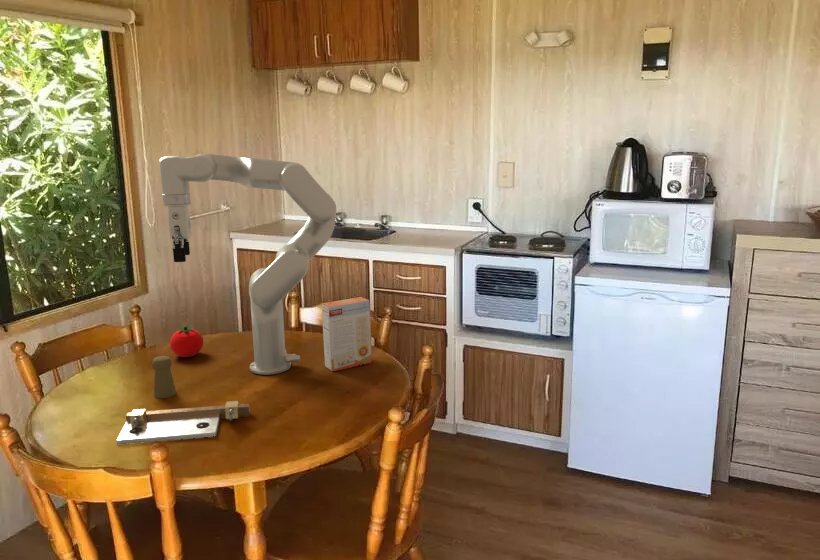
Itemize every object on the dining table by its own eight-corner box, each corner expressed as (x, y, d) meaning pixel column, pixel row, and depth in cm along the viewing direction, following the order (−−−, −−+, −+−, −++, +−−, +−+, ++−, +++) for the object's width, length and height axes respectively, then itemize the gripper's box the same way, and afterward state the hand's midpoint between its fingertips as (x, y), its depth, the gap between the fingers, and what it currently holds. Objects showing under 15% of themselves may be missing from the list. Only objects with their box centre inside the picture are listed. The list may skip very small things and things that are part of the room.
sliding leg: (239, 412, 178) (238, 400, 177) (237, 422, 172) (236, 410, 172) (227, 413, 178) (226, 401, 177) (225, 423, 172) (224, 411, 171)
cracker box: (363, 358, 221) (361, 295, 216) (372, 363, 216) (370, 300, 211) (323, 366, 214) (321, 302, 209) (331, 372, 209) (329, 306, 204)
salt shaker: (149, 394, 194) (145, 357, 191) (169, 387, 198) (166, 352, 196) (160, 400, 190) (156, 362, 187) (180, 393, 194) (176, 357, 192)
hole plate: (250, 410, 183) (249, 395, 182) (246, 434, 169) (245, 417, 168) (130, 419, 178) (128, 404, 177) (117, 444, 164) (115, 428, 163)
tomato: (202, 348, 231) (199, 320, 228) (206, 358, 221) (204, 329, 219) (169, 353, 227) (167, 324, 224) (172, 363, 217) (169, 333, 215)
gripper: (186, 203, 188) (192, 264, 192) (193, 195, 204) (198, 252, 209) (158, 204, 187) (164, 265, 191) (167, 196, 203) (173, 253, 207)
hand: (182, 258), depth 200 cm, fingers open, 9 cm apart
